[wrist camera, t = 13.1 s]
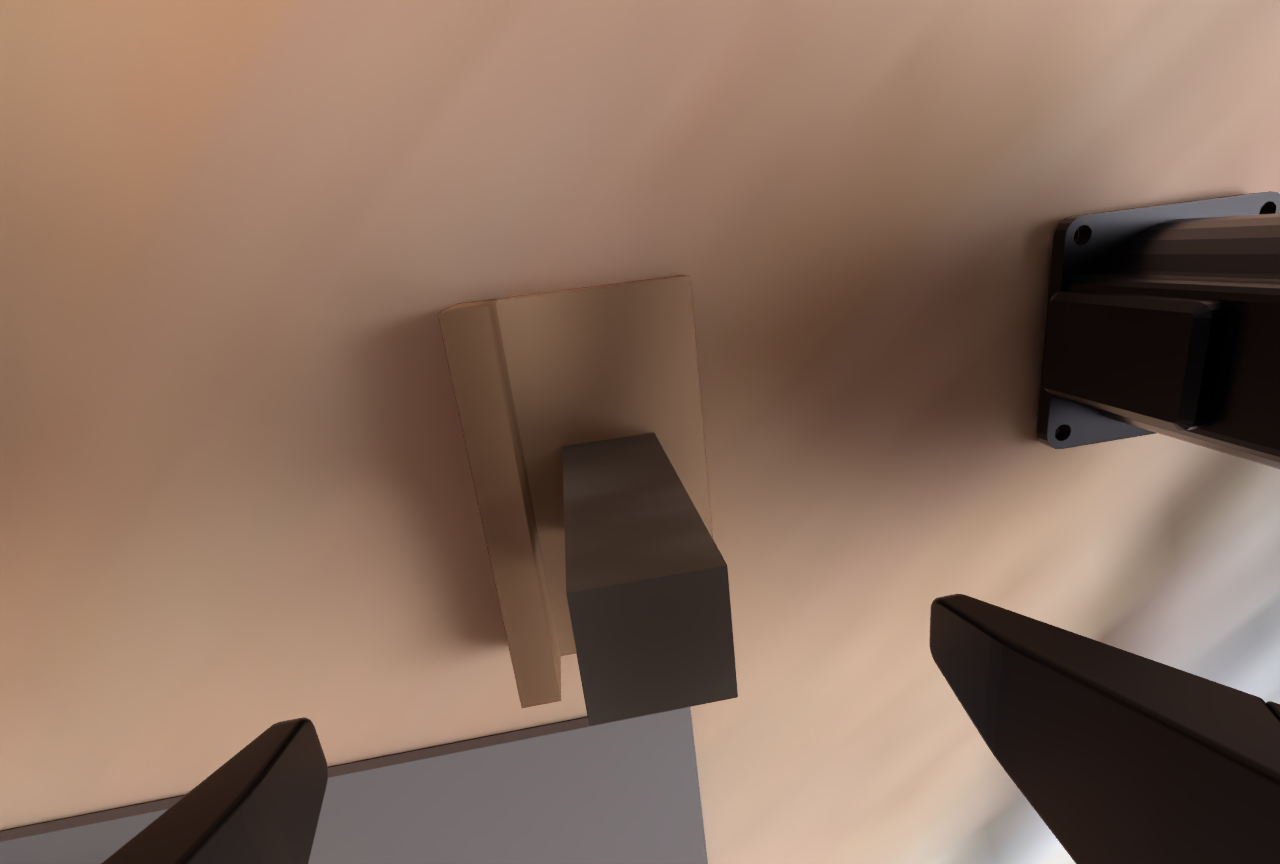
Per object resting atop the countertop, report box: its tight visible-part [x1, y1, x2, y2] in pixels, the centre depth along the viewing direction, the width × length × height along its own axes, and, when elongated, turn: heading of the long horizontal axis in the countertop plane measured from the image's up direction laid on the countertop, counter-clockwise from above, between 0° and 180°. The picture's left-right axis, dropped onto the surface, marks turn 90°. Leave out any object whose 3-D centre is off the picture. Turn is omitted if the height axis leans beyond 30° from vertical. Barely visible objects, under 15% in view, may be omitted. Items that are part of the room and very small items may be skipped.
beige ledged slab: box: [438, 275, 738, 726], centre depth 13 cm, size 6×10×8 cm, turn 7°
